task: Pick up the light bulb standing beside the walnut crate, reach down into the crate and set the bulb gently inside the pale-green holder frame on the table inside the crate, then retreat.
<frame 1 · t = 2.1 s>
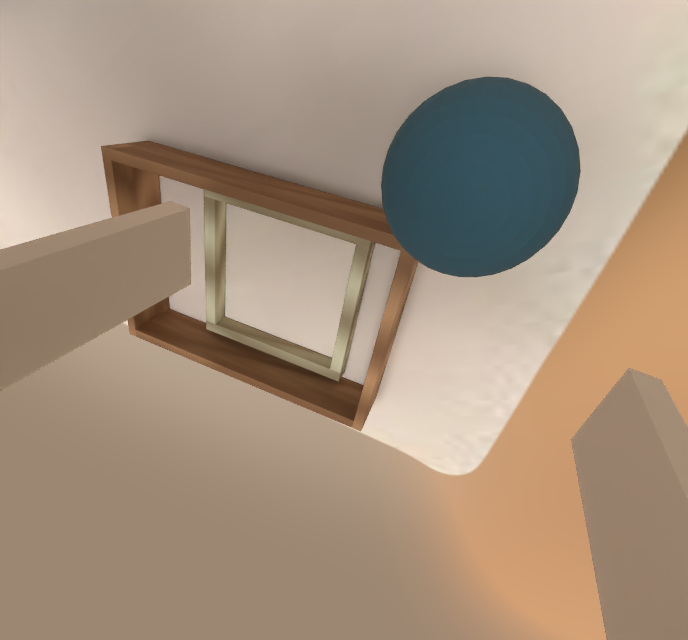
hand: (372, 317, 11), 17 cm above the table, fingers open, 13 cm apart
crate: (269, 277, 34), on the table
light bulb: (482, 162, 24), on the table
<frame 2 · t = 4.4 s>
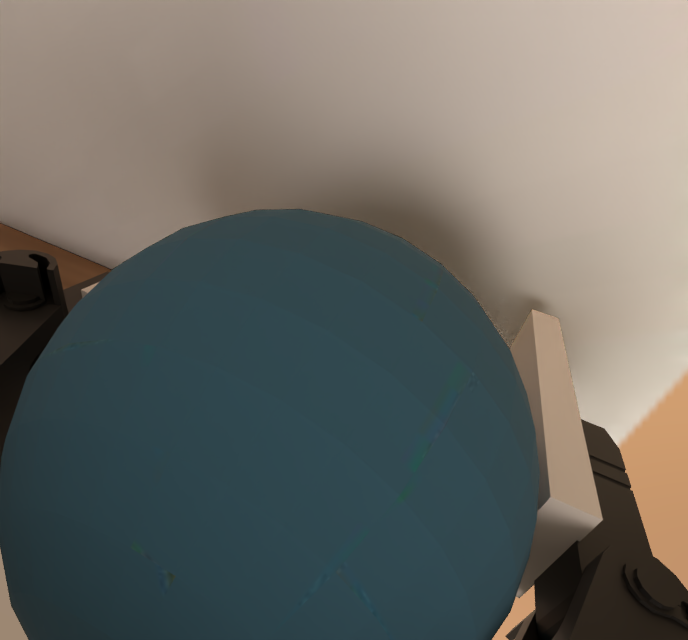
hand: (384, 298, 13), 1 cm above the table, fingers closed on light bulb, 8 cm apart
crate: (119, 389, 23), on the table
light bulb: (396, 280, 14), on the table, touching gripper
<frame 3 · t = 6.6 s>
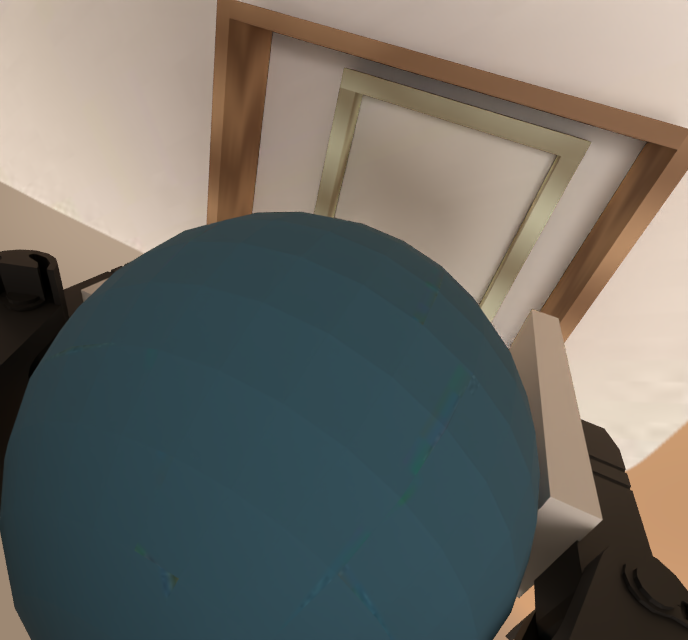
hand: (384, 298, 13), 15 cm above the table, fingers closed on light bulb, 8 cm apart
crate: (400, 210, 26), on the table
light bulb: (396, 281, 14), point 14 cm above the table, touching gripper
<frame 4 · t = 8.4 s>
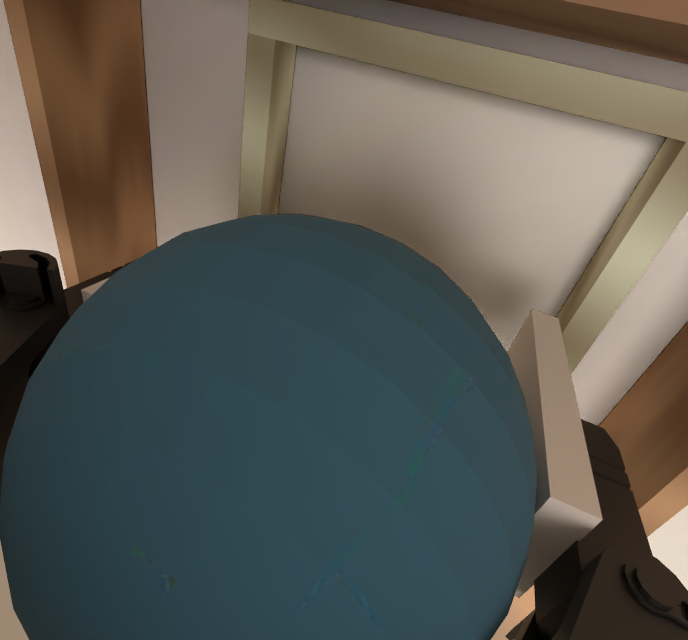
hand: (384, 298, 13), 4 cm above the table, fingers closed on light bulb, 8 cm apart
crate: (374, 244, 16), on the table
light bulb: (395, 282, 14), point 2 cm above the table, touching gripper
when the fingers open (2 cm above the table, at t = 9.1 s): light bulb stays where it is, resting in crate.
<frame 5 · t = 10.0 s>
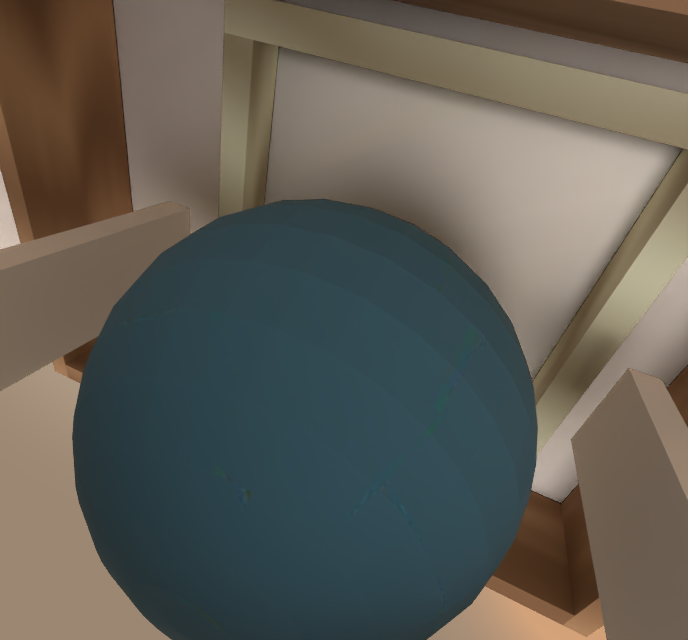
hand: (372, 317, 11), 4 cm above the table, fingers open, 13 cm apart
crate: (364, 260, 15), on the table
light bulb: (398, 268, 15), resting in crate
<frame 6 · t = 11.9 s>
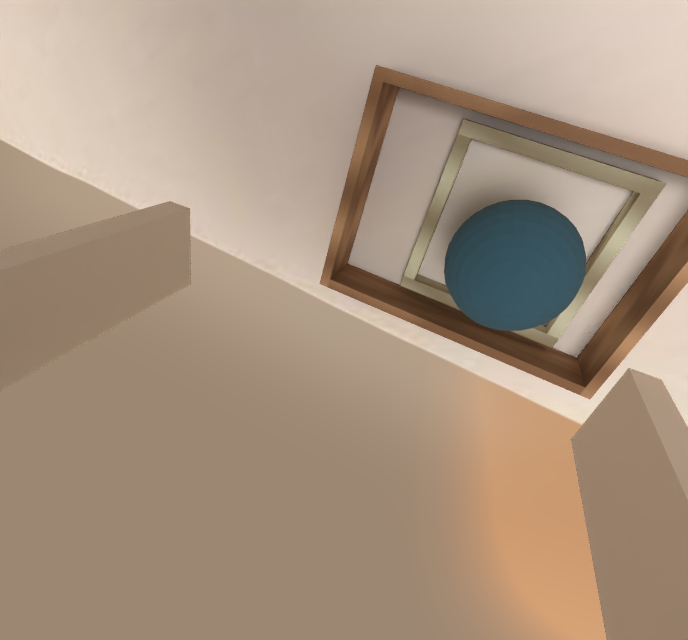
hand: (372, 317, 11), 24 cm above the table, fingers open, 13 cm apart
crate: (493, 231, 32), on the table
light bulb: (509, 235, 32), resting in crate
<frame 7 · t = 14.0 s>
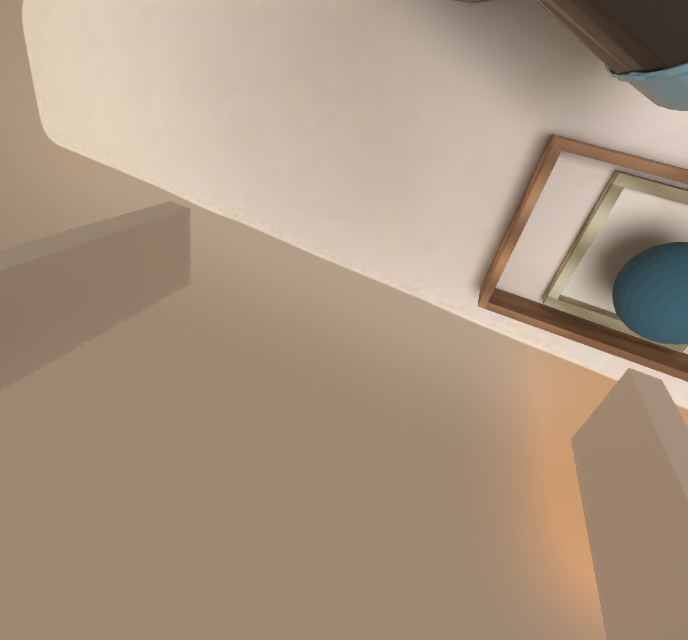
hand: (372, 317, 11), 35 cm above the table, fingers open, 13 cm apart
crate: (632, 258, 39), on the table
light bulb: (646, 261, 38), resting in crate
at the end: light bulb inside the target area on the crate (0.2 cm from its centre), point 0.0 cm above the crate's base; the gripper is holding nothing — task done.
